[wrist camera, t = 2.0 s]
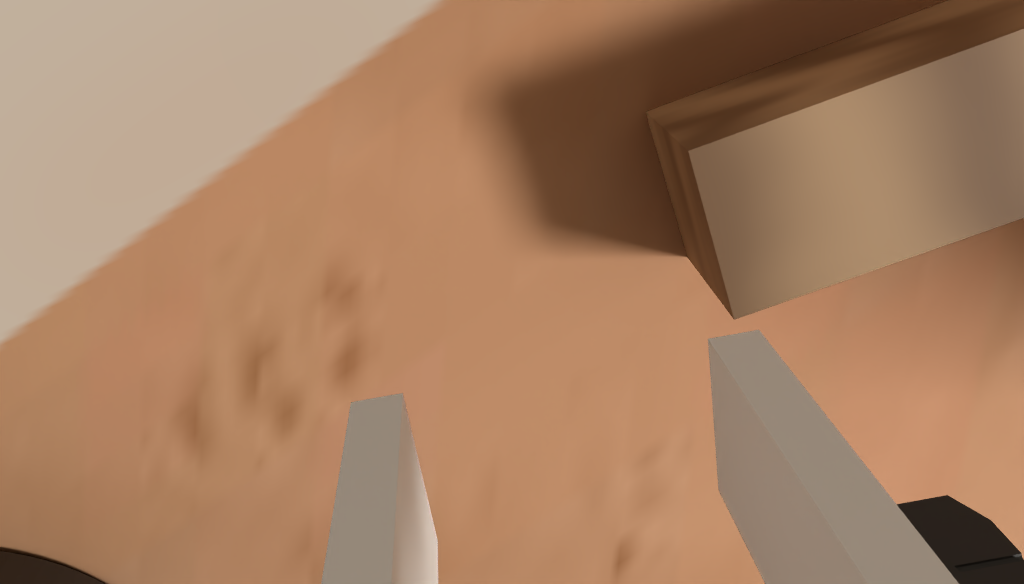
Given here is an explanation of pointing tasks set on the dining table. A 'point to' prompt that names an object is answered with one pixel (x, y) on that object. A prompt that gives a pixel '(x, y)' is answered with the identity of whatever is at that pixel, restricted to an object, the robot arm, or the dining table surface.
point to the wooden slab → (850, 154)
